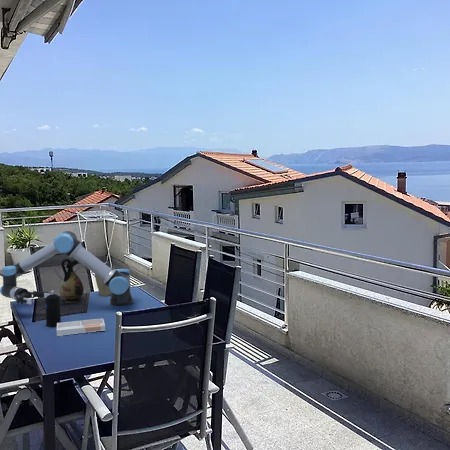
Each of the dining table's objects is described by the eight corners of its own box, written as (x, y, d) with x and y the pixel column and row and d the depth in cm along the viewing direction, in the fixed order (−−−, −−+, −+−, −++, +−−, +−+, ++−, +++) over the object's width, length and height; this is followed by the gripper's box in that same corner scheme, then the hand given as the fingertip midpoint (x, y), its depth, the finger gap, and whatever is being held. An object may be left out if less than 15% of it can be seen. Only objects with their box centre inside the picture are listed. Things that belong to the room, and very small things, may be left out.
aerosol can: (64, 323, 263) (63, 289, 261) (54, 328, 255) (53, 293, 253) (52, 322, 265) (51, 288, 263) (42, 326, 258) (41, 292, 256)
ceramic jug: (74, 297, 319) (73, 255, 316) (88, 300, 310) (87, 257, 307) (53, 302, 305) (51, 258, 302) (67, 306, 296) (65, 261, 293)
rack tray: (103, 324, 262) (103, 318, 261) (105, 331, 249) (105, 325, 249) (57, 329, 253) (57, 322, 253) (56, 337, 241) (56, 330, 241)
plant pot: (97, 298, 316) (97, 275, 314) (93, 293, 329) (92, 271, 327) (119, 295, 323) (118, 273, 321) (113, 291, 336) (113, 269, 334)
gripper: (37, 295, 286) (59, 300, 275) (0, 304, 265) (22, 310, 254) (37, 283, 285) (59, 288, 274) (-1, 292, 264) (21, 297, 253)
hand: (41, 299), depth 264 cm, fingers open, 13 cm apart
